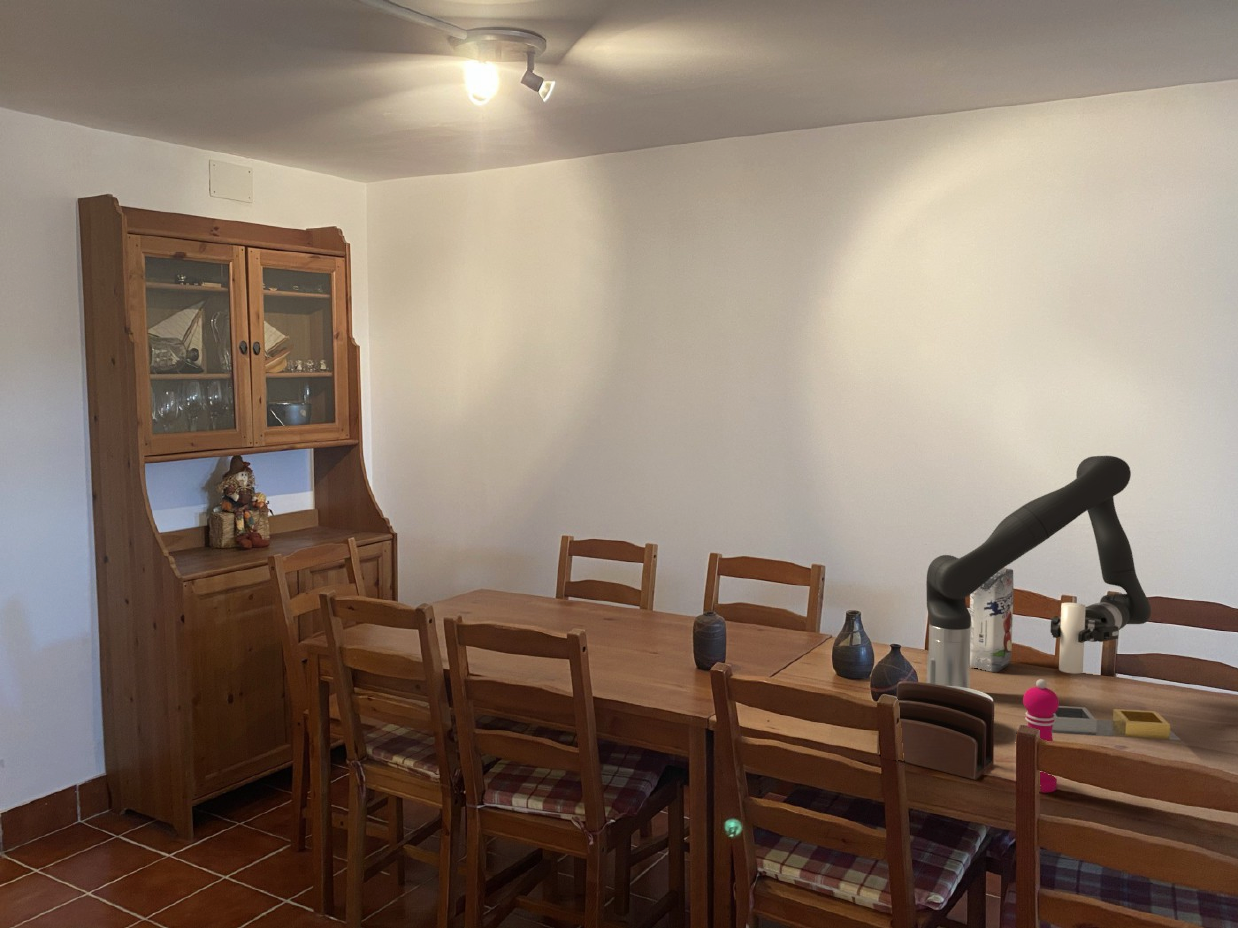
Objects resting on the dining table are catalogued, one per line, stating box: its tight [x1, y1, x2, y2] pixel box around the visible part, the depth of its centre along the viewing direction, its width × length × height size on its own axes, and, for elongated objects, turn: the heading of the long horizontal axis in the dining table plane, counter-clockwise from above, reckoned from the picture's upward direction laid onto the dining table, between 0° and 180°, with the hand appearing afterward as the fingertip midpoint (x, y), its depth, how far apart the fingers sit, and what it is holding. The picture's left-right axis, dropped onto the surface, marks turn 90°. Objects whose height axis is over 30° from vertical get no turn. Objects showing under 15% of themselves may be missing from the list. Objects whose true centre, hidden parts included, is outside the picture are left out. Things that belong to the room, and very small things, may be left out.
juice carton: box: [969, 566, 1014, 673], centre depth 253 cm, size 9×10×27 cm
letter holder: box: [876, 680, 995, 781], centre depth 192 cm, size 10×20×14 cm, turn 50°
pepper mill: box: [1022, 678, 1060, 793], centre depth 179 cm, size 7×7×20 cm
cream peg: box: [1058, 602, 1087, 674], centre depth 206 cm, size 5×5×14 cm
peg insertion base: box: [1052, 705, 1181, 741], centre depth 207 cm, size 26×10×4 cm, turn 79°
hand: (1067, 635), depth 204 cm, fingers closed on cream peg, 4 cm apart
